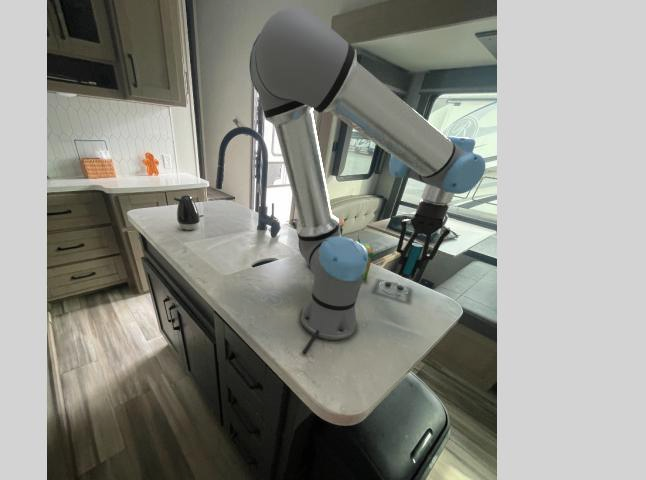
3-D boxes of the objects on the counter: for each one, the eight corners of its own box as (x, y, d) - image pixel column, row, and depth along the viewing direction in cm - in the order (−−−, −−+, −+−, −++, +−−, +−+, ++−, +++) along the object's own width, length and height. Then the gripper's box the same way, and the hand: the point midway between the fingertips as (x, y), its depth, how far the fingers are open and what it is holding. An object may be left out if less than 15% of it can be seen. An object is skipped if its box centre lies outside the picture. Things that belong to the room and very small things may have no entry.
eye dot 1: (390, 287, 91) (391, 285, 91) (384, 285, 92) (385, 284, 92) (391, 284, 93) (391, 283, 93) (385, 283, 94) (385, 281, 93)
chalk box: (365, 283, 96) (377, 244, 87) (339, 279, 97) (349, 240, 89) (363, 271, 103) (374, 234, 95) (339, 267, 105) (348, 231, 96)
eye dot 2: (402, 290, 90) (403, 289, 90) (396, 289, 91) (397, 287, 90) (403, 288, 91) (404, 286, 91) (397, 286, 92) (397, 284, 92)
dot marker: (410, 279, 86) (423, 248, 80) (399, 276, 88) (411, 245, 81) (411, 275, 89) (423, 244, 83) (400, 272, 90) (412, 242, 84)
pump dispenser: (176, 225, 130) (171, 192, 121) (197, 223, 134) (194, 191, 125) (179, 233, 123) (175, 198, 114) (202, 230, 127) (199, 197, 118)
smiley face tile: (407, 303, 87) (408, 300, 86) (373, 292, 91) (374, 290, 90) (410, 289, 95) (411, 286, 94) (378, 280, 98) (379, 277, 98)
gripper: (467, 204, 74) (433, 276, 88) (405, 194, 80) (382, 263, 94) (469, 210, 69) (432, 287, 82) (402, 199, 75) (378, 272, 88)
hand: (406, 274), depth 88 cm, fingers closed on dot marker, 3 cm apart
